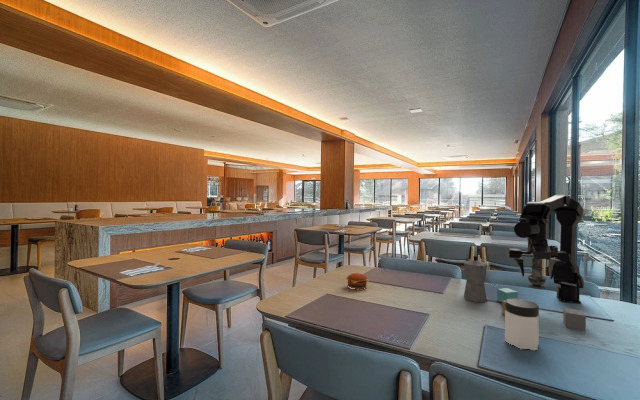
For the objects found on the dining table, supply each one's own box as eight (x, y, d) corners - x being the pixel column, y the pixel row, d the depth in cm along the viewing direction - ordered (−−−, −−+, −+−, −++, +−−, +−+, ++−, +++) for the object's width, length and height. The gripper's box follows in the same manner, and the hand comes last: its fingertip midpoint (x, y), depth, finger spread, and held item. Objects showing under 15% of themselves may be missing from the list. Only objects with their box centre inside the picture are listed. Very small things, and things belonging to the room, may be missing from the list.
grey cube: (582, 325, 100) (582, 310, 100) (585, 331, 96) (585, 315, 96) (563, 322, 103) (563, 307, 103) (565, 327, 99) (565, 312, 99)
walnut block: (516, 314, 110) (516, 300, 110) (524, 320, 105) (524, 305, 105) (502, 313, 111) (502, 300, 111) (509, 319, 106) (509, 305, 106)
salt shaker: (550, 289, 109) (550, 256, 109) (533, 289, 109) (533, 256, 109) (540, 284, 115) (540, 253, 114) (523, 284, 115) (524, 253, 115)
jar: (507, 334, 94) (507, 296, 94) (539, 342, 89) (540, 301, 89) (502, 344, 88) (502, 304, 87) (537, 354, 82) (537, 310, 82)
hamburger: (343, 286, 145) (343, 272, 145) (360, 283, 149) (360, 270, 149) (354, 291, 136) (354, 277, 136) (371, 288, 141) (371, 274, 141)
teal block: (508, 299, 125) (508, 288, 125) (517, 304, 120) (517, 291, 120) (497, 300, 125) (497, 288, 124) (506, 304, 120) (506, 292, 119)
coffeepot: (494, 304, 120) (495, 259, 120) (470, 304, 120) (470, 259, 120) (477, 292, 135) (477, 252, 135) (455, 291, 136) (455, 252, 136)
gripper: (512, 237, 108) (512, 280, 108) (577, 240, 101) (577, 286, 101) (506, 233, 118) (506, 273, 118) (564, 235, 111) (564, 277, 111)
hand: (536, 277), depth 112 cm, fingers closed on salt shaker, 8 cm apart
